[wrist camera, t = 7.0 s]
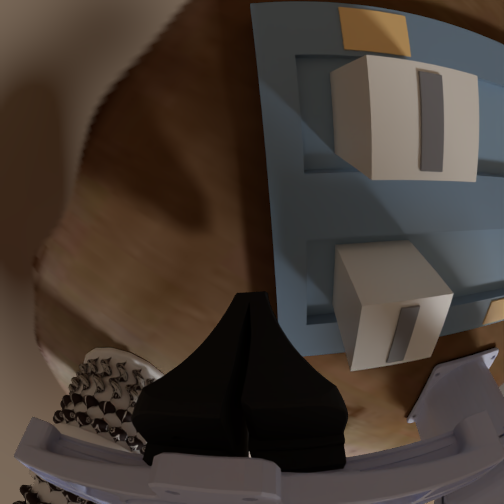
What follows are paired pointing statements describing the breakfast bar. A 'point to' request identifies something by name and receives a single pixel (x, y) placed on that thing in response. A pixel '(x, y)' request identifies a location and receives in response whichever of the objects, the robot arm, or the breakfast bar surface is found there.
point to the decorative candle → (98, 413)
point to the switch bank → (360, 186)
